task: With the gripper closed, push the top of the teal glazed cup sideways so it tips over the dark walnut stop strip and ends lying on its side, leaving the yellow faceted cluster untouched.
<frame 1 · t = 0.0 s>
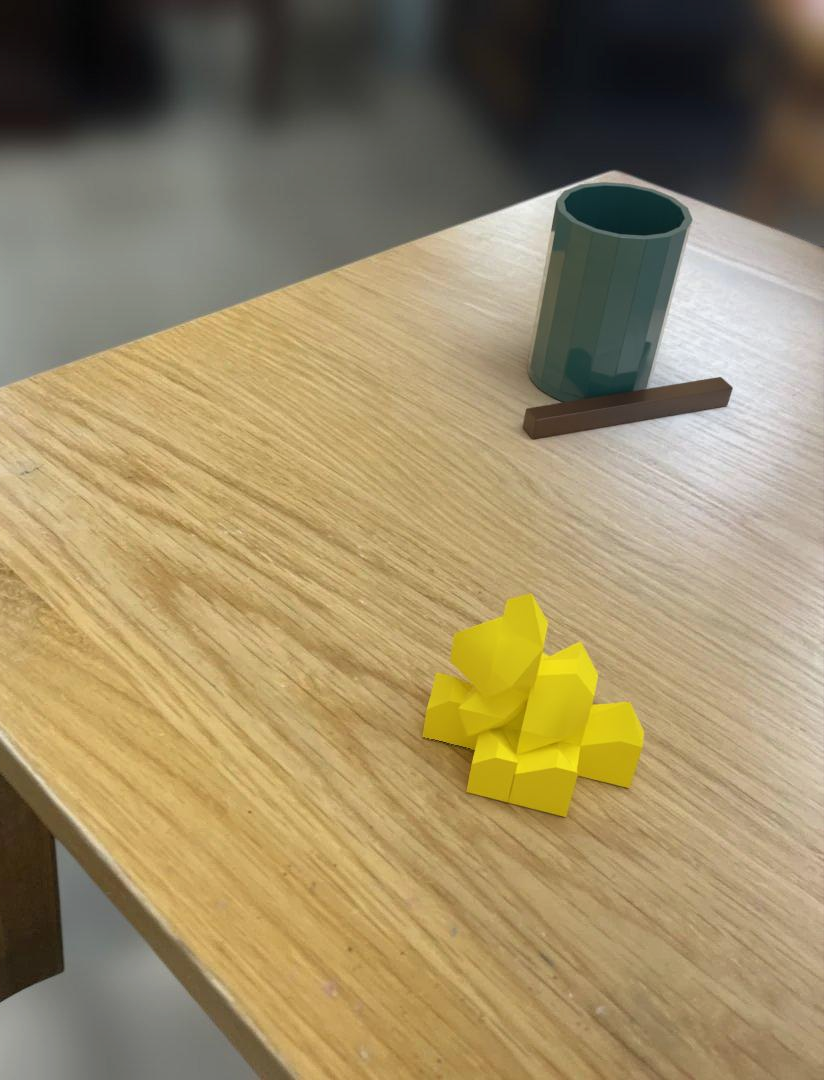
cup: (587, 375, 69), on the table
yellow faceted cluster: (526, 750, 48), on the table
stop strip: (626, 416, 66), on the table
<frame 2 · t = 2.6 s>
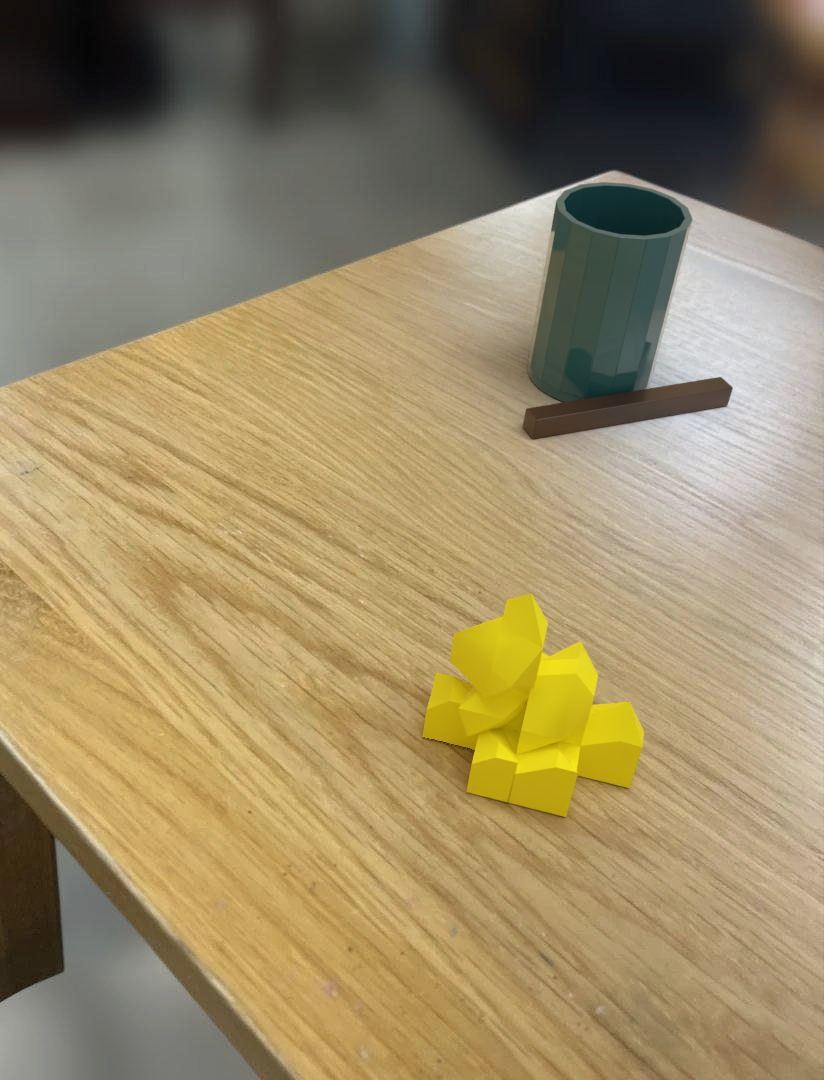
nothing on the table moved.
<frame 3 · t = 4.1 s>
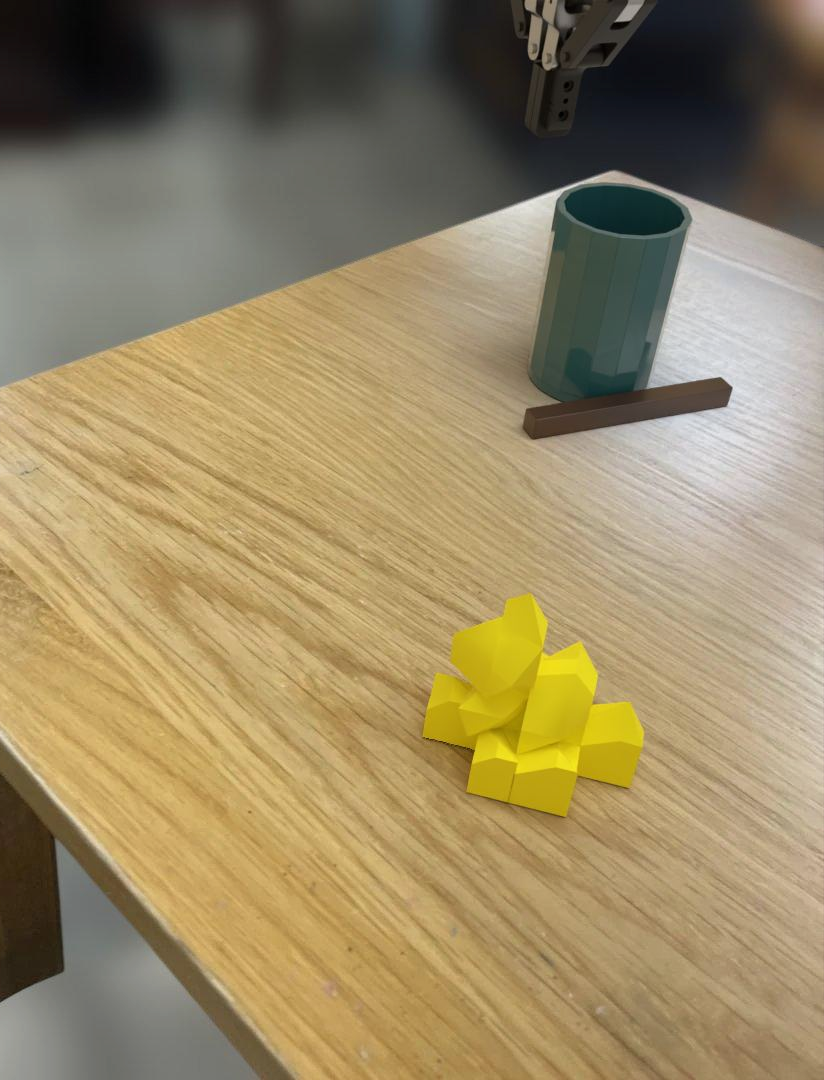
hand: (546, 131, 69), 11 cm above the table, tool pointing down, fingers closed
nothing on the table moved.
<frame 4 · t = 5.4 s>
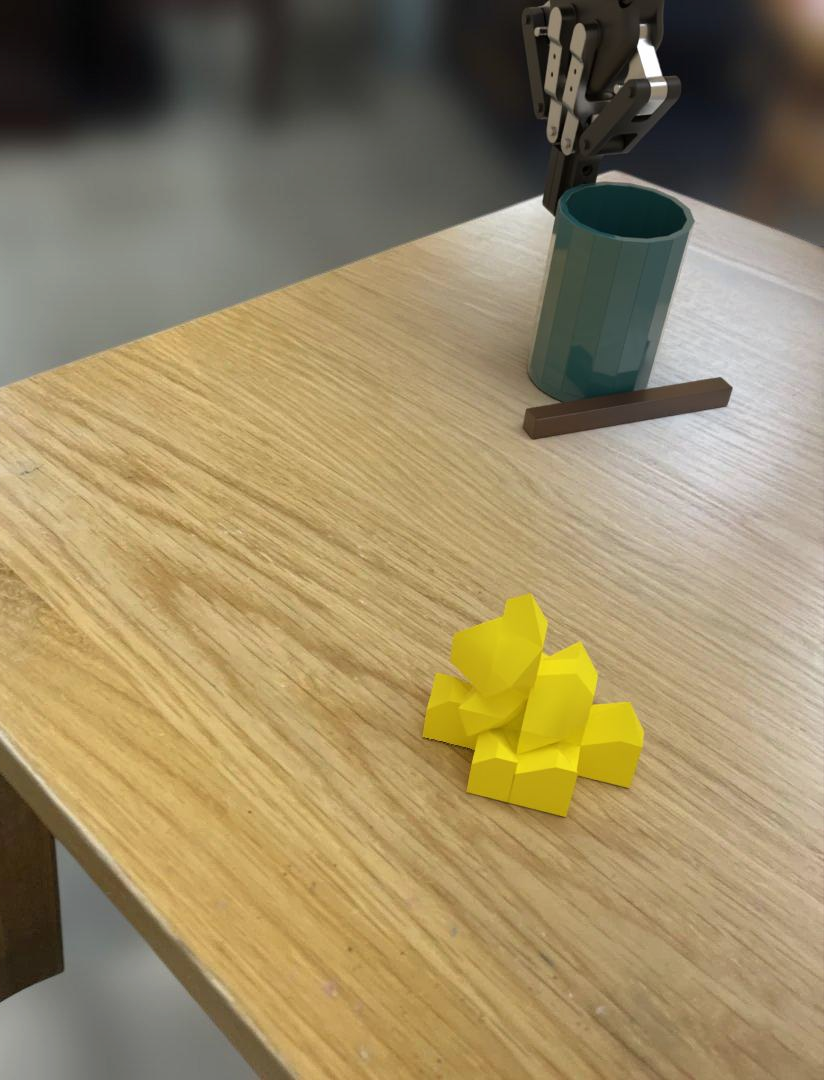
hand: (564, 211, 69), 8 cm above the table, tool pointing down, fingers closed
cup: (587, 374, 69), on the table, touching gripper
everything else where it was.
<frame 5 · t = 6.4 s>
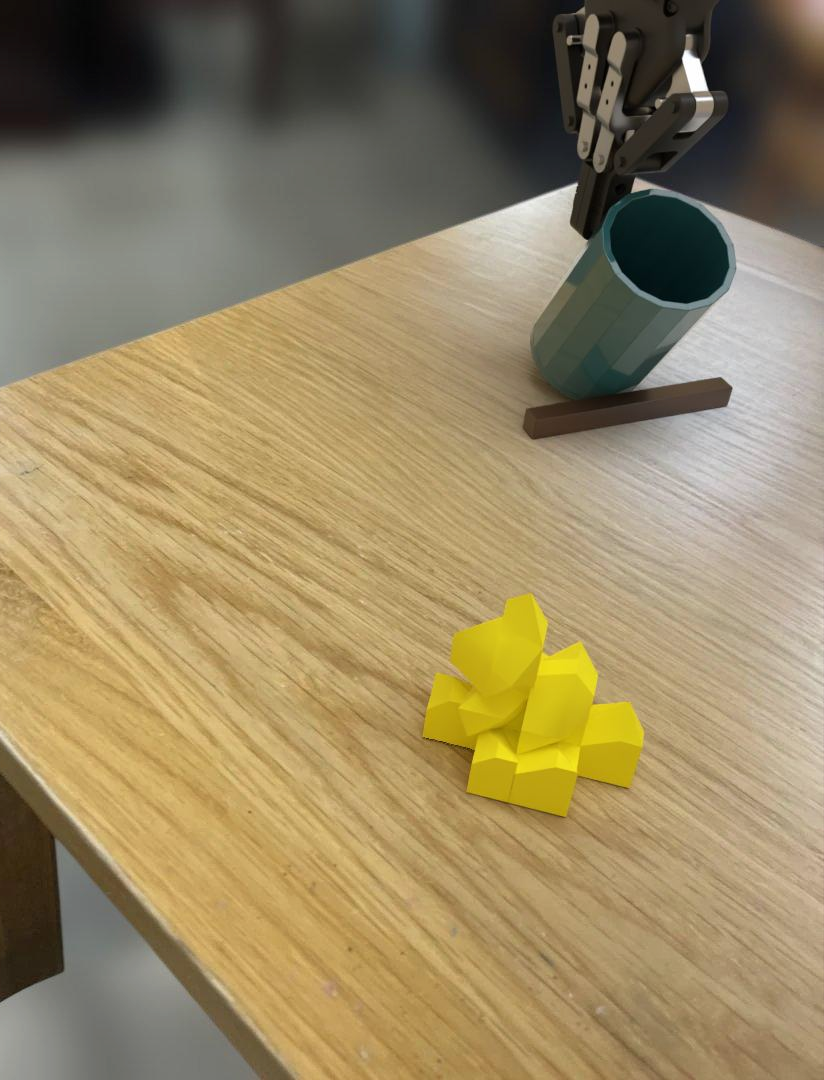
hand: (592, 232, 64), 8 cm above the table, tool pointing down, fingers closed
cup: (588, 350, 68), point 2 cm above the table, tilted 31°, touching gripper, stop strip
everything else where it was.
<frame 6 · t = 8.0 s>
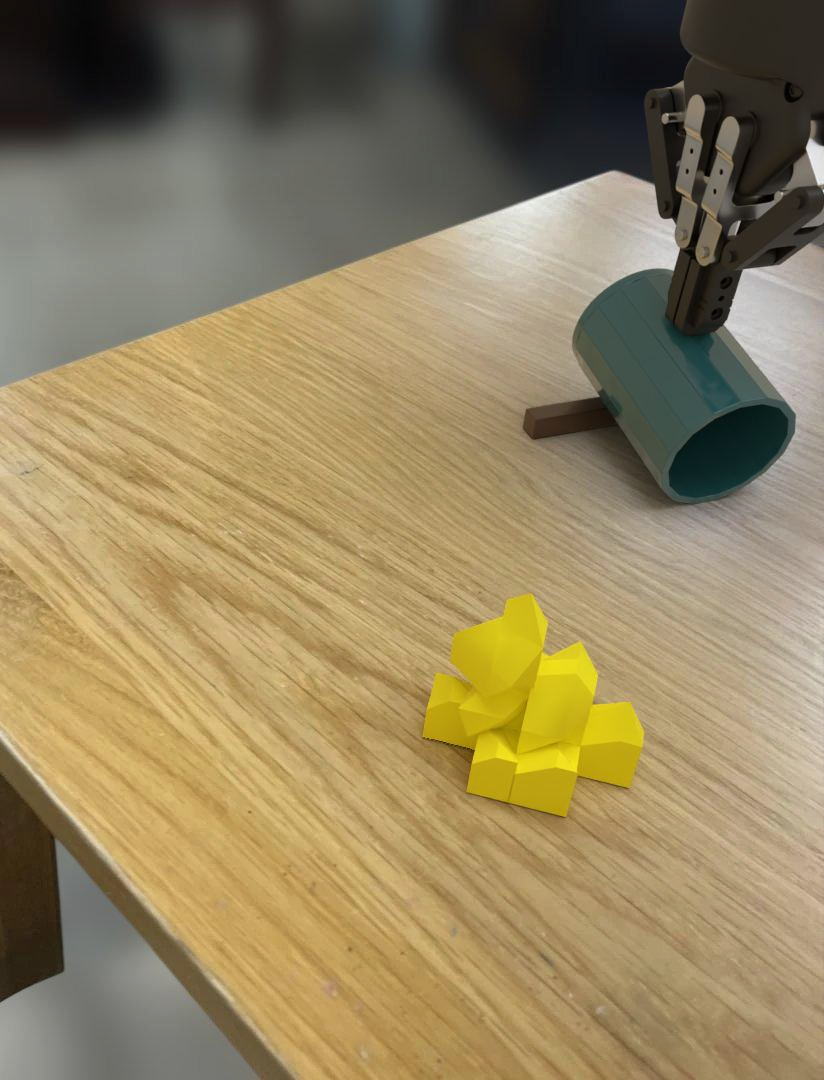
hand: (691, 325, 59), 8 cm above the table, tool pointing down, fingers closed
cup: (632, 321, 64), point 5 cm above the table, tilted 100°, touching gripper, stop strip
everything else where it was.
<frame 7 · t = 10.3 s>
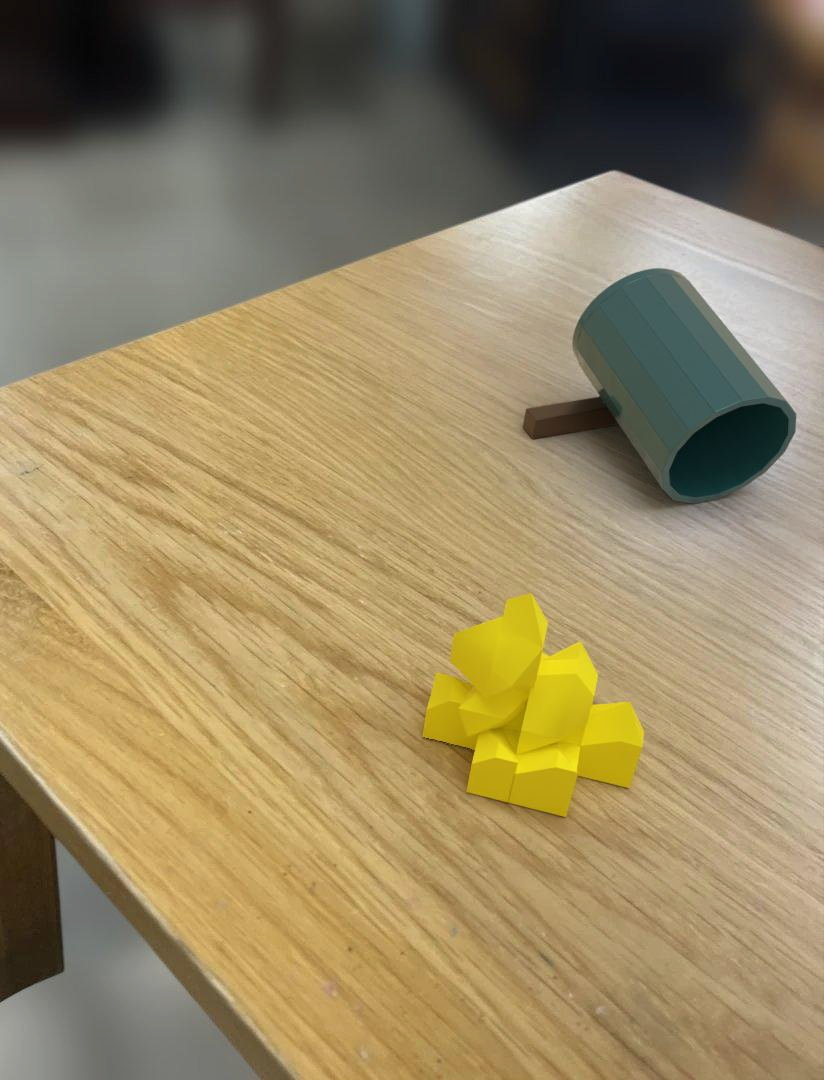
cup: (632, 321, 64), point 5 cm above the table, tilted 99°, touching stop strip
everything else where it was.
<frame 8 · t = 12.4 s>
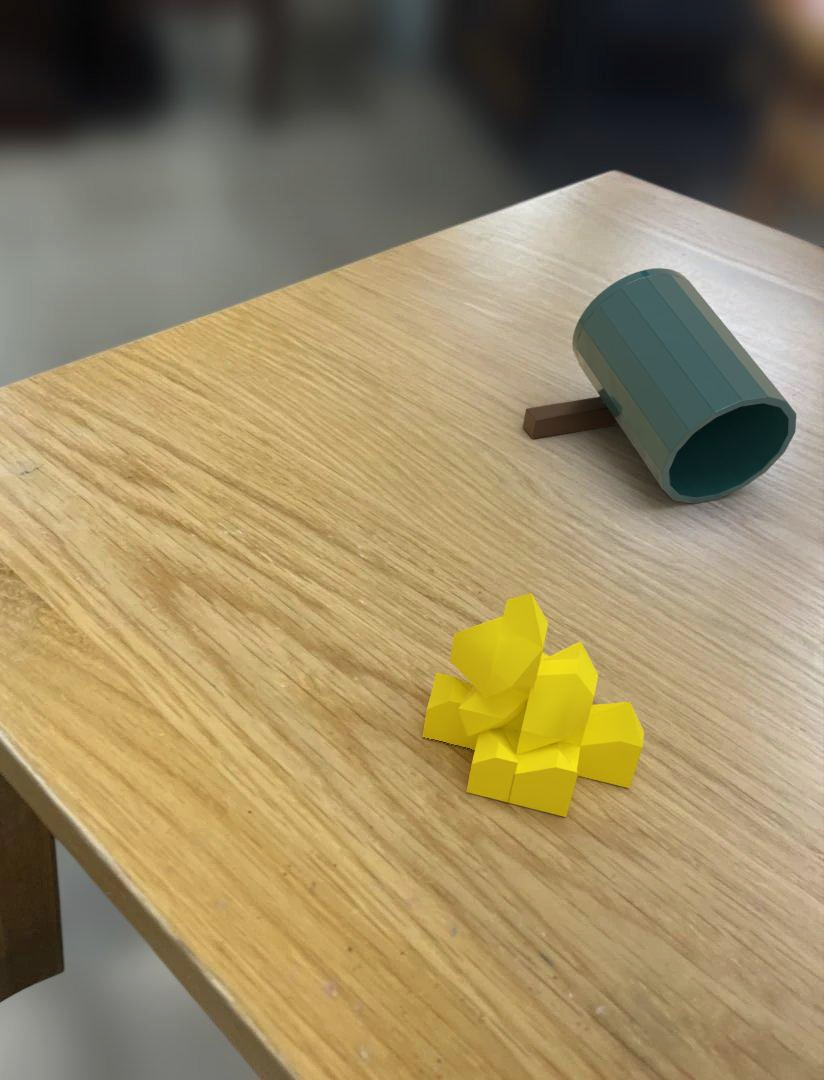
nothing on the table moved.
at the end: cup tilted 99°; cup inside the target area (6.2 cm from its centre), point 5.0 cm above the table; yellow faceted cluster moved 0.2 cm from its start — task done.
